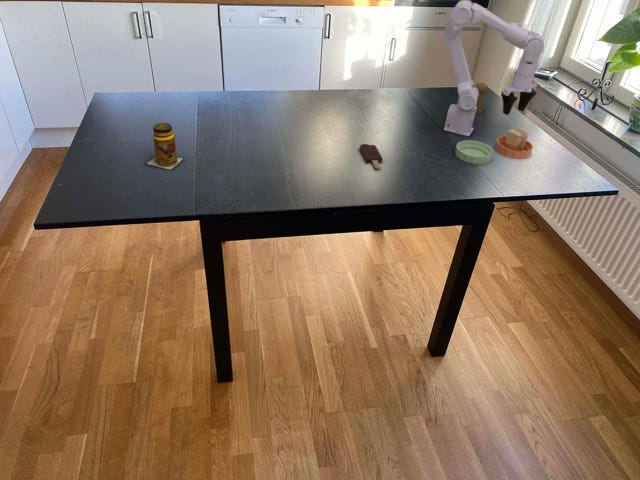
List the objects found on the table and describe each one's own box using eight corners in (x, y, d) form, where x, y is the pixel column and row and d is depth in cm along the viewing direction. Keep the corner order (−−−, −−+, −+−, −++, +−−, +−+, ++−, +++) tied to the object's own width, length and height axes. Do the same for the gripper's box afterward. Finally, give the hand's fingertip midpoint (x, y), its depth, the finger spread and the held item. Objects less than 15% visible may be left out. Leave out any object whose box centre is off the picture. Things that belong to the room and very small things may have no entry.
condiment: (171, 170, 151) (166, 133, 144) (146, 164, 153) (140, 127, 146) (183, 159, 157) (179, 123, 149) (159, 153, 158) (154, 118, 151)
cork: (482, 114, 199) (490, 87, 192) (467, 112, 200) (474, 85, 193) (482, 108, 204) (489, 82, 197) (467, 106, 205) (473, 80, 198)
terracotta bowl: (491, 153, 173) (493, 145, 171) (498, 140, 181) (500, 132, 179) (526, 163, 169) (529, 155, 167) (532, 149, 177) (535, 141, 175)
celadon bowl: (450, 158, 168) (452, 150, 166) (459, 145, 176) (461, 137, 175) (486, 168, 164) (488, 160, 162) (493, 154, 172) (496, 146, 171)
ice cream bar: (386, 170, 159) (373, 148, 171) (386, 165, 158) (374, 143, 170) (369, 170, 158) (358, 148, 170) (370, 166, 157) (359, 144, 169)
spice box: (513, 154, 172) (519, 135, 168) (503, 148, 175) (509, 130, 171) (522, 151, 174) (528, 133, 170) (512, 146, 177) (518, 127, 173)
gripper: (520, 80, 162) (507, 119, 170) (549, 74, 169) (535, 112, 177) (503, 73, 167) (492, 112, 175) (532, 67, 173) (520, 105, 181)
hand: (513, 112), depth 176 cm, fingers open, 7 cm apart
